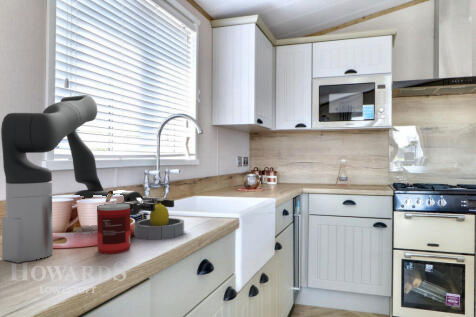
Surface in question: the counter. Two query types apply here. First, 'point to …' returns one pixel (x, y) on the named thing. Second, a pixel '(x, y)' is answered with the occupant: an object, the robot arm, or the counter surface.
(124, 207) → the canned food
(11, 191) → the robot arm
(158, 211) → the lemon
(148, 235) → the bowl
